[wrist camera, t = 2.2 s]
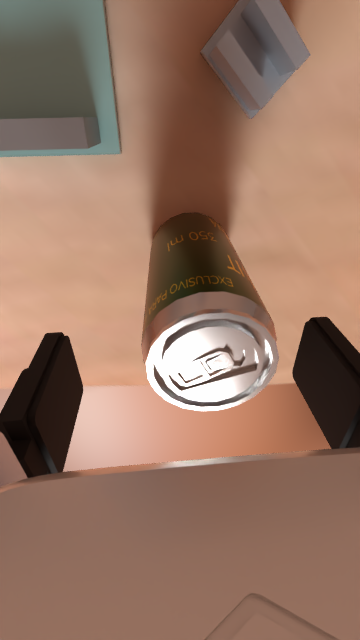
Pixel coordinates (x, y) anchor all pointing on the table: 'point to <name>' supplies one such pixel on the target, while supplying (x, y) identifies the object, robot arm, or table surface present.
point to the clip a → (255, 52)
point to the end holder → (56, 79)
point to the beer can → (204, 319)
